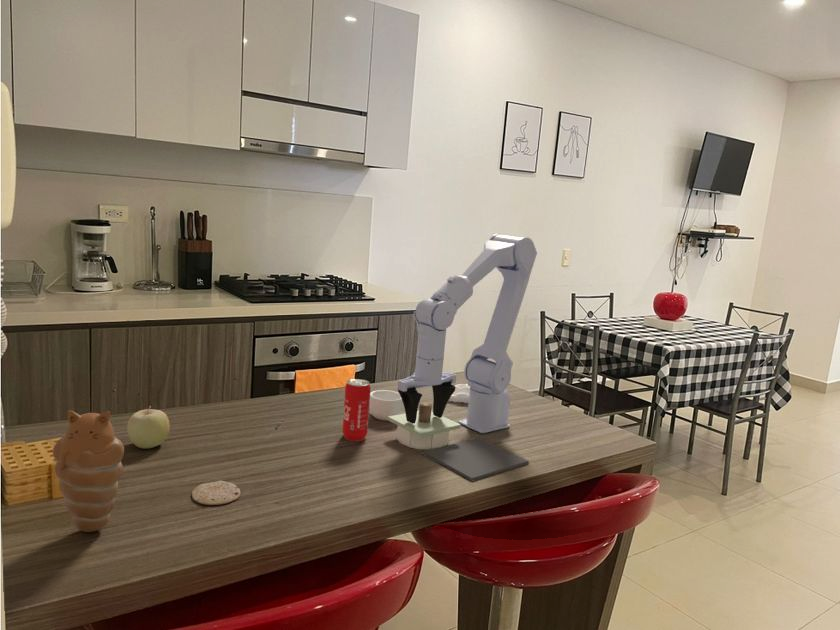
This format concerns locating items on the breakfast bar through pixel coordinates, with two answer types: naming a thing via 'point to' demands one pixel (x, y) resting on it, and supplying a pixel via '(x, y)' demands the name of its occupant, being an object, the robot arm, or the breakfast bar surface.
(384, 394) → the teacup
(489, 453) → the mat
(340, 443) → the breakfast bar surface
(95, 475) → the cat ice cream
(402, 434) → the bowl
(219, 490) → the flatbread
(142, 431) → the fruit
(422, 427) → the lid
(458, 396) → the white rounded piece
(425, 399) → the breakfast bar surface
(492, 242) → the robot arm
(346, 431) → the beverage can
